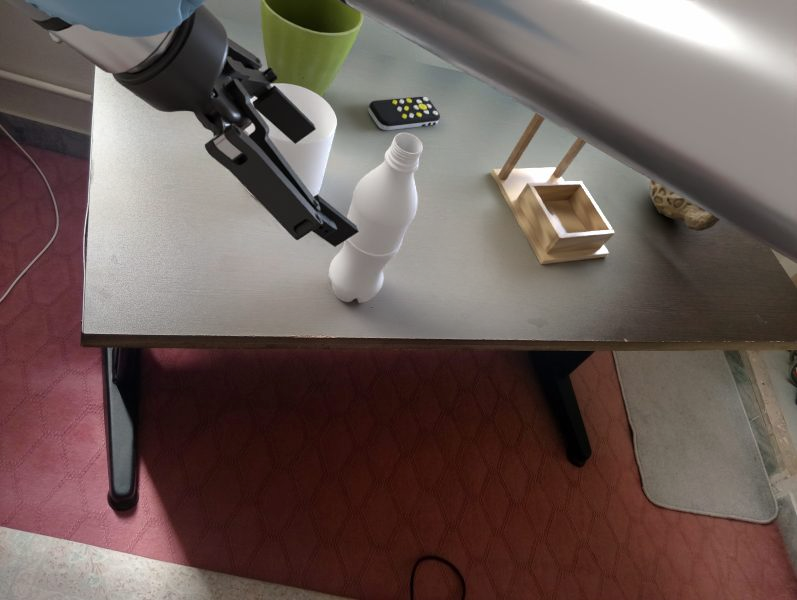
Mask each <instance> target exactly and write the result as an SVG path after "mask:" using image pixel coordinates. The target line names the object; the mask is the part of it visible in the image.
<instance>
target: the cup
mask: <svg viewBox="0 0 797 600" xmlns="http://www.w3.org/2000/svg"><path fill="white" fill-rule="evenodd" d="M274 85H275V86H276V87H277V88H278V89H279V90H280V91H281V92H282V93H283V94H284V95H285V96H286V97H287V98H288V99H289V100H290V101H291V102H292V103H293V104H294V105H295V106H296V107H297V108H298V109H299V110H300V111H301V112H302V113H303V114H304V115H305V116H306V117H307V118H308V119H309V120H310V121H311V122H312V123H313V124H314V126H315V128H316V130H314V131H313V132H311V133H310V134H309V135H307V136H306V137H304V138H303V139H302V140H300V141H299V142H297V143H296V144H295V143H293V142H292V141H291V140H290V139H289V138H288V137H287V136H286V135H285V134H283V133H282V132H281V131H280V130H279V129H278V128H277V127H276V126H274V125H273V124H272V123H271V122H270V121H269V120H268V119H267V118H265V117H264V116H263V115H262V114H261V113H260V112H259V111H258V110H257V111H258V113H259V114H260V115H261V117H262V118H263V119H264V121H265V122H266V124H267V125H268V127H269V130H270V131H269V134H268V136H269V138H270V139H271V141H272V142H273V143H274V145H275V146H276V147H277V149H278V150H279V152H280V153H281V154H282V156H283V157H284V158H285V160H286V161H287V162H288V164H289V165H290V166H291V168H292V169H293V170H294V172H295V173H296V174H297V176H298V177H299V178H300V180H301V181H302V182H303V184H304V185H305V186H306V188H307V189H308V190H309V192H310V193H311V194H312V196H313V197H314V196H316V195H317V194H318V195H319V194H320V192H321V188H322V184H323V181H324V176H325V172H326V168H327V164H328V161H329V157H330V153H331V149H332V145H333V142H334V137H335V134H336V129H337V126H338V120H337V116H336V113H335V111H334V109H333V107H332V106H331V105H330V103H329V102H328V101H327V100H326V99H324V98H323V96H322V97H320V96H319V95H318V94H316V93H314V92H312V91H311V90H308V89H306V88H303V87H301V86H297V85H293V84H285V83H274V84H272V83H271V84H270V86H271V87H273V86H274ZM256 99H257V97H255V96H254V97H253V98H252V99H250V102H251V103H252V105H253V101H255V100H256ZM253 106H254V105H253ZM254 130H255V126H254V124H253V123H252V124H251V125H250V126H249V127H247V128H246V129H245V131H247V133H248V134H249V135H250V134H251V133H252V132H254ZM242 186H243V187H244V189H245V190H246V191H247V192H248V194H250V195H251V196H252V197H253V198H254V199H256V198H255V197H254V196H253V195H252V194H251V193H250V192H249V191H248V189H247V188H246V187H245V186H244V185H243V184H242Z"/></svg>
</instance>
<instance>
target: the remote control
mask: <svg viewBox="0 0 797 600" xmlns="http://www.w3.org/2000/svg"><path fill="white" fill-rule="evenodd" d="M367 109H368V113H369V115H370V117H371V118H372V119H373V121H374V123H375V124H376V126H377V127H378V128H379V129H380V130H383V131H395V130H402V129H411V128H420V127H428V126H435V125H437V124H438V123H439V121H440V119H441V113H440V112H439V111H438V108H436V107H435V106H434V104H433V102H432V101H431V100H430V99H429V98H428V97H426V96H413V97H411V96H410V97H399V98H390V99H377V100H376V99H375V100H372V101H370V103H369V106H368V108H367Z"/></svg>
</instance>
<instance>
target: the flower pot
mask: <svg viewBox="0 0 797 600" xmlns="http://www.w3.org/2000/svg"><path fill="white" fill-rule="evenodd" d="M259 3H260V19H261V22H260V23H261V34H262V44H263V50H264V56H265V60H266V66H267V69H268V68H269V67H271V68H272V69H273V70H274V72H275V73H276V75H277V77H278V79H277V80H275V81H274V82H273V83H271V84H274V83H285V84H293V85H297V86H301V87H303V88H306V89H308V90H311V91H312V92H314V93H316V94H318V95H319V96H320V97H322V98H323V96H324V94H325V93H326V92H327V90H328V89H329V88H330V86H331V84H332V83H333V82H334V80H335V79H336V77H337V75H338V74H339V72H340V70H341V68H342V67H343V65H344V63H345V61H346V59H347V58H348V56H349V53H350V52H351V49H352V47H353V45H354V43H355V41H356V39H357V37H358V34H359V32H360V29H361V27H362V25H363V22H364V14H363V13H361V12H359V11H357V10H355V9H353V8H351V7H349V6H347V5H345V4H343V3H342V2H340V1H338V0H259Z"/></svg>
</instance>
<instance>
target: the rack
mask: <svg viewBox="0 0 797 600" xmlns="http://www.w3.org/2000/svg"><path fill="white" fill-rule="evenodd" d="M545 120H546V119H545V118H543V117H541V116H540V115H538V114H536V113H535V112H534V115H533V117H532V118H531V120H530V122H529V123H528V125H527V127H526V128H525V130H524V131H523V133H522V135H521V137H520V138H519V139H518V142H517V143H516V145H515V146H514V148H513V150H512V152H511V153H510V154H509V156H508V158H507V160H506V161H505V163H504V165H503V166H502V168H493V169H492V170H491V172H490V174H491V176H492V178H493V180H494V181H495V183H496V185H497V187H498V189H499V190H500V192H501V194H502V196H503V198H504V200H505V202H506V203H507V205H508V207H509V209H510V211H511V212H512V214H513V216H514V218H515V220H516V222H517V223H518V225H519V227H520V229H521V231H522V233H523V235H524V236H525V238H526V240H527V242H528V244H529V245H530V247H531V250H532V251H533V253H534V255H535V256H536V258H537V260H538V261H539V264H540V265H547V264H557V263H565V262H573V261H581V260H591V259H597V258H606V257H607V256H609V254H610V251H609V250H608V249H607V247H606V243H607V242H608V241H609V240H610V239H611V238H612V237H613V236H614V235H616V232H615V230H614V228H613V227H612V226H611V224H610V222H609V221H608V220H607V218H606V216H605V214H604V213H603V212H602V210H601V209H600V207H599V205H598V204H597V203H596V200H594V198H593V197H592V195H591V193H590V191H589V190H588V188H587V187H586V185H585V184H584V183H583V181H582V180H569V181H567V180H566V181H565V180H564V178H563V177H562V176H563V175H564V174H565V172H566V171H567V169H568V168H569V167H570V166H571V164H572V163H573V161H574V160H575V159H576V157H577V156H578V154H579V153H580V152H581V150H582V149H583V148H584V147H585V145H586V144H587V142H585V141H583V140H581V139H580V138H578V137H576V139H575V141H574V143H573V144H572V145H571V147H570V148H569V149H568V150H567V152H566V154H565V155H564V156H563V158H562V159H561V161H560V162H559V163H558V165H557V166H556V167H522V168H520V167H519V168H515V167H516V165H517V164H518V163H519V160H520V159H521V158H522V156H523V154H524V152H525V151H526V149H527V148H528V146H529V145H530V143H531V141H533V138H534V137H535V135H536V133H537V132H538V130H539V129H540V127H541V125H542V124H543V122H544V121H545Z"/></svg>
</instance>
